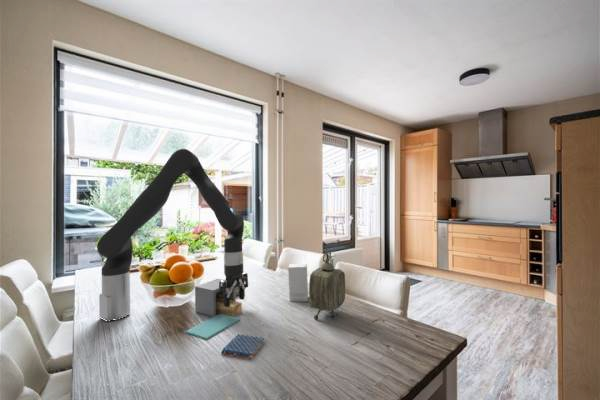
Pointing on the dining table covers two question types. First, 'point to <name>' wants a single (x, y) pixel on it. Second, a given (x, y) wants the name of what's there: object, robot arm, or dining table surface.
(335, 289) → the tabletop clock
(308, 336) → the dining table surface
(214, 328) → the teal mat
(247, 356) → the woven mat
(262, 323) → the dining table surface
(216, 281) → the cubby shelf
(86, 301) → the dining table surface
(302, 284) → the skincare box
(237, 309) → the oak plank
